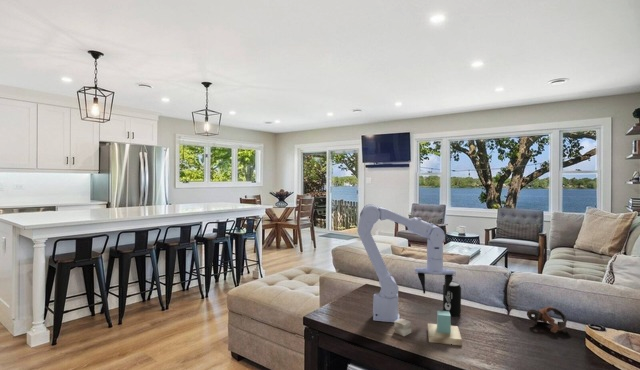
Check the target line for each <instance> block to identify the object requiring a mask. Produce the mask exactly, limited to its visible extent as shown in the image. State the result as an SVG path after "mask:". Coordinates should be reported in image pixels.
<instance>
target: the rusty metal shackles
mask: <svg viewBox="0 0 640 370" xmlns="http://www.w3.org/2000/svg"><path fill="white" fill-rule="evenodd" d="M551 311H552V312H553V314H554V315H555V316H560V317H561V319H562V321H557V323H555V322H556V321H555V319H554V318H553V317H552V316H550V314H549V313H550V312H551ZM533 315H534V316H533ZM526 316H527V318H528V320H530V321H531V322H532V323H533V324H534V325H538V322H544V323H549V325H551V326H552V327H551V329H550V332H551V333H553V334H556V333H557V332H560V331H562V330H564V329H566V327H567V322H568V319H567V317H566V315H565V314H564V313H563V312H562V311H560V310H559V309H557V308H555V307H553V306H546V307H544V308H541V309H539V310H536V309H533V308H531V309H528V311H527V312H526Z"/></svg>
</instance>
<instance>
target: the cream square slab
mask: <svg viewBox="0 0 640 370" xmlns="http://www.w3.org/2000/svg"><path fill="white" fill-rule="evenodd" d="M427 336H428V343H433V344H435V343H437V344H444V345H451V344H452V346H453V345H454V346H462V345H463V340H462V339H463V338H462V335H461V332H460V329H459V326H457V325H451V334H446V333H438V330H437V323H431V322H430V323H428V322H427Z"/></svg>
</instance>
